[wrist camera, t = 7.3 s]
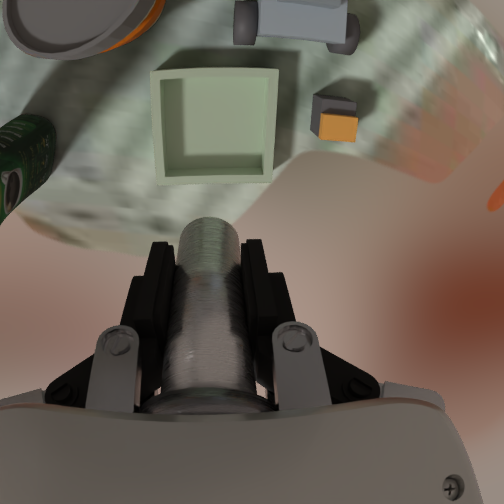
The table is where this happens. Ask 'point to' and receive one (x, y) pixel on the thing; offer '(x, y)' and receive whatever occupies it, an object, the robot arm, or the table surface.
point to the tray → (214, 124)
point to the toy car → (297, 22)
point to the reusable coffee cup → (77, 25)
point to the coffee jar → (24, 159)
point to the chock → (334, 118)
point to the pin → (207, 330)
